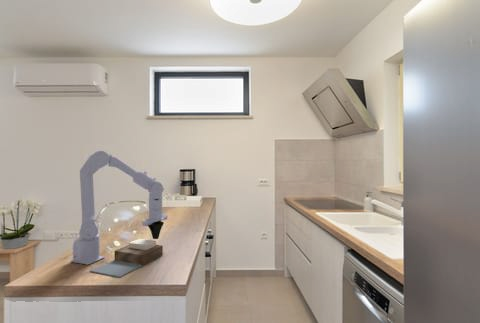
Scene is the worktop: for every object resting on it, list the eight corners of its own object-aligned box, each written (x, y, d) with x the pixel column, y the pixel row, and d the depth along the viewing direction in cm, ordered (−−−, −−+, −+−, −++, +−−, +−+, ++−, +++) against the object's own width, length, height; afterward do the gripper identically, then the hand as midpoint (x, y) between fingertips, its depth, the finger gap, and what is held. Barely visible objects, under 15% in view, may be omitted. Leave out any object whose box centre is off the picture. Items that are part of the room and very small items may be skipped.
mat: (90, 271, 95) (90, 270, 95) (114, 261, 105) (114, 260, 105) (120, 277, 90) (120, 276, 90) (142, 265, 100) (142, 264, 100)
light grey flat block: (128, 247, 109) (128, 242, 109) (139, 243, 114) (139, 238, 114) (146, 250, 105) (146, 245, 105) (156, 245, 111) (156, 240, 111)
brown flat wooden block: (114, 260, 105) (114, 250, 105) (136, 251, 116) (136, 242, 116) (142, 265, 100) (142, 255, 100) (162, 255, 111) (162, 245, 111)
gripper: (152, 211, 109) (152, 244, 109) (172, 206, 123) (172, 235, 123) (138, 210, 112) (138, 242, 112) (160, 205, 126) (160, 233, 126)
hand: (155, 238), depth 118 cm, fingers closed
